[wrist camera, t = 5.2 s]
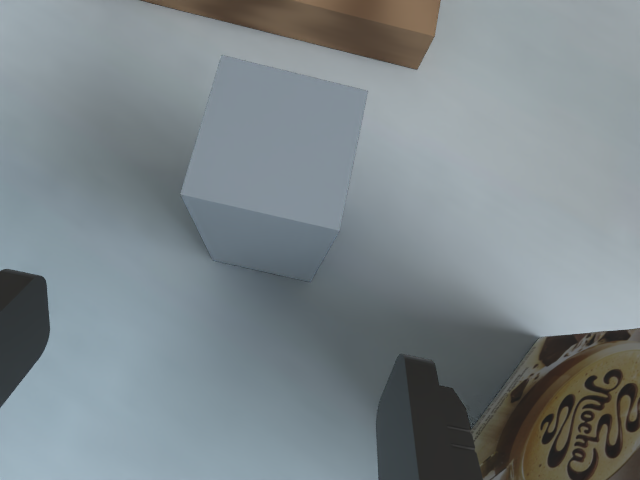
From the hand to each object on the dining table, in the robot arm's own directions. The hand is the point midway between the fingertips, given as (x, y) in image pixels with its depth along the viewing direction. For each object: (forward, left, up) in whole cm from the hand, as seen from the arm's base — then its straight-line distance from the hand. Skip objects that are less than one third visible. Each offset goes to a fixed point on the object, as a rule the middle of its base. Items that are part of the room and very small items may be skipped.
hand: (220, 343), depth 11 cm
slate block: (0, -7, -13) cm, 15 cm away
